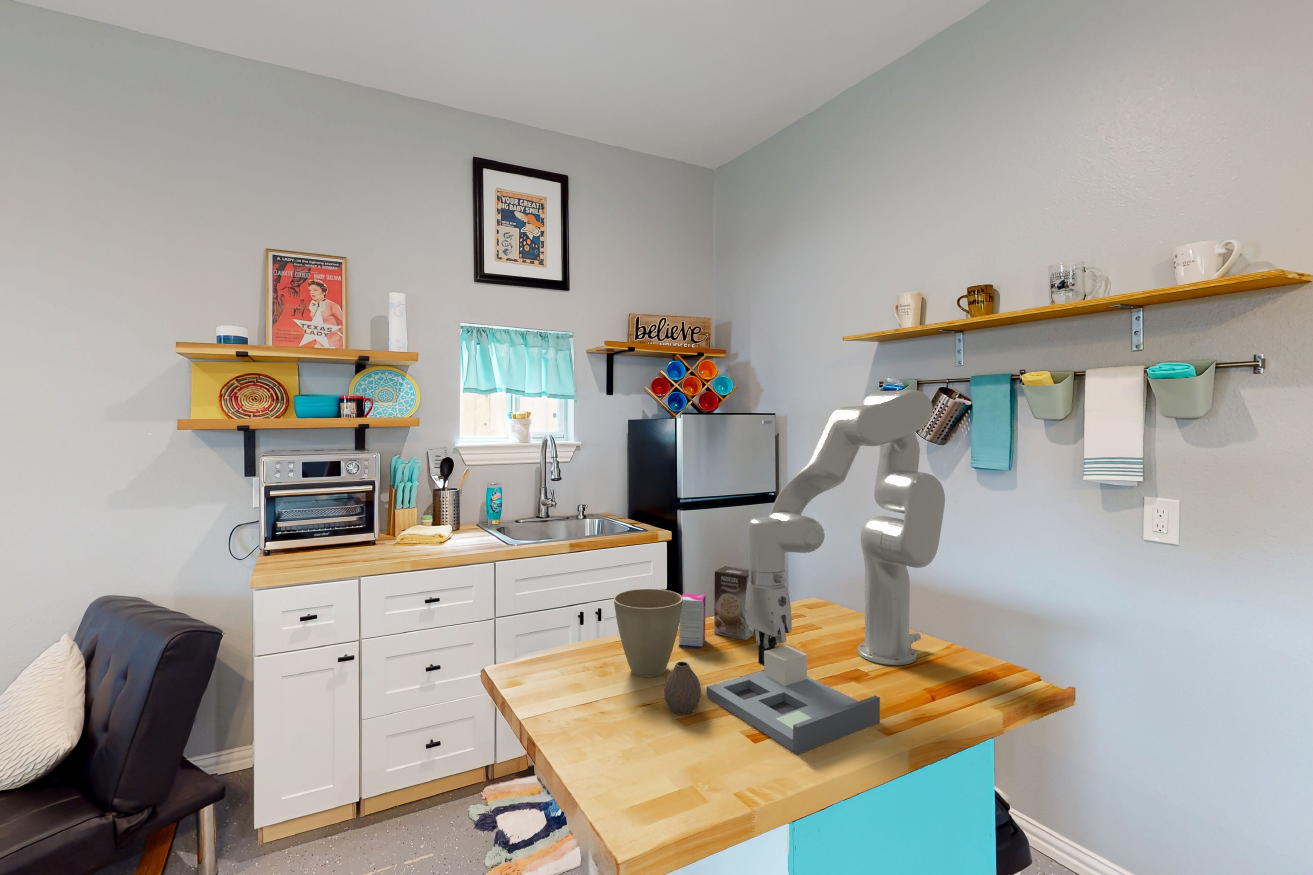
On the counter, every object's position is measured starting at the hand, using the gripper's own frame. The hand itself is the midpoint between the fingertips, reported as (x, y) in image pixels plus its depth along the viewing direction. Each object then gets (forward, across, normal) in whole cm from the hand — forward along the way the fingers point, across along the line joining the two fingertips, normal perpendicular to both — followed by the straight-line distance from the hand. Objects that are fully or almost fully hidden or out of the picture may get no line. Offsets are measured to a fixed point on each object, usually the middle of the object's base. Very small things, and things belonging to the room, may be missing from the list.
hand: (766, 663), depth 133 cm
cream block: (+1, -6, 0) cm, 6 cm away
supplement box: (+3, +24, +2) cm, 25 cm away
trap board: (+3, -13, +6) cm, 14 cm away
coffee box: (+3, +24, -11) cm, 27 cm away
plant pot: (+3, +16, +19) cm, 25 cm away
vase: (+3, -3, +23) cm, 23 cm away
